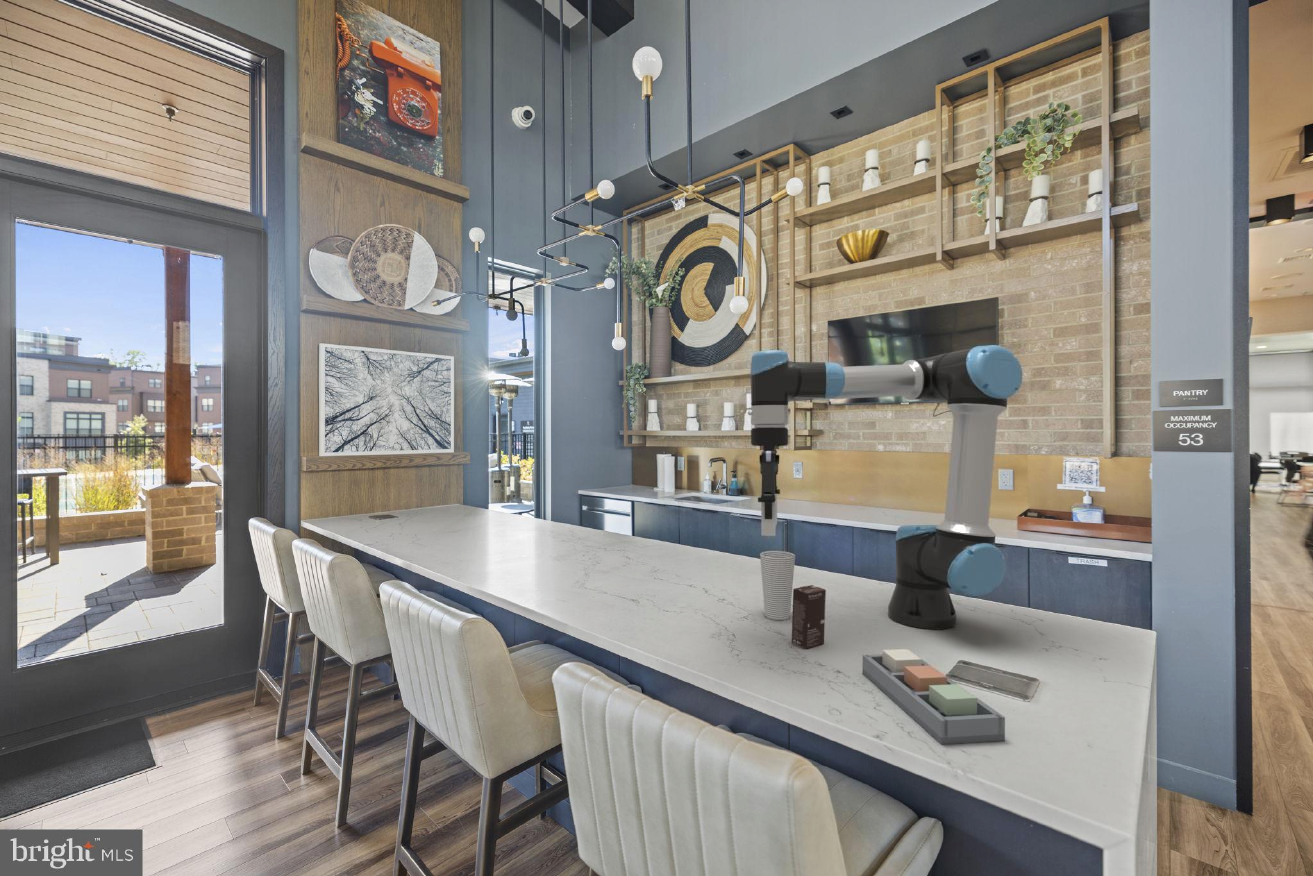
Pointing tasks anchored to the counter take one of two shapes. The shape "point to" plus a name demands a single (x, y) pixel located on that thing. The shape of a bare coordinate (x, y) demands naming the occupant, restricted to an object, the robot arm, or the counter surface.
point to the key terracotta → (923, 677)
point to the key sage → (952, 699)
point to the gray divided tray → (935, 708)
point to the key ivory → (900, 659)
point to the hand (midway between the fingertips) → (769, 529)
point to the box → (808, 616)
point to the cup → (777, 583)
